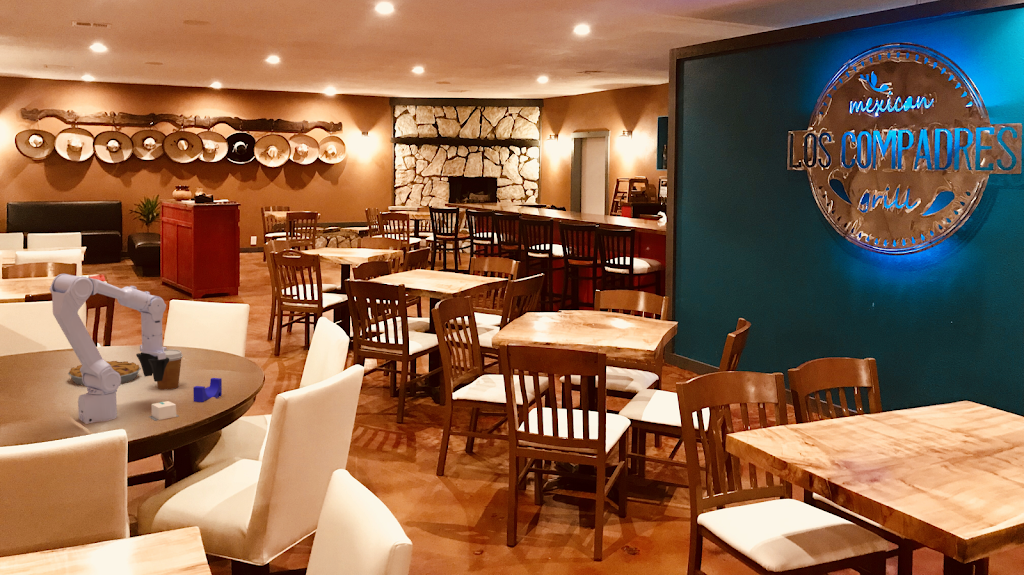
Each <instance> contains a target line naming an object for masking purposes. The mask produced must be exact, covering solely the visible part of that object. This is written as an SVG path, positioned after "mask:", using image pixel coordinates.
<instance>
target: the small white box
mask: <svg viewBox="0 0 1024 575" xmlns="http://www.w3.org/2000/svg"><path fill="white" fill-rule="evenodd" d="M176 414H177V404H176V403H174V402H172V401H169V400H167V401H159V402H155V403H151V416H153V417H154V418H156V419H158V420H157V421H162V420H166V419H167V418H168V419H173V418H177V417H176ZM172 417H173V418H172Z"/></svg>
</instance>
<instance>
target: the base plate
mask: <svg viewBox="0 0 1024 575" xmlns="http://www.w3.org/2000/svg"><path fill="white" fill-rule="evenodd" d="M178 417H179V415H178V414H177V413H176V417H175V418H178ZM148 418H150V419H151V420H154V422H155V421H156V422H157V421H159V420H158V419H156V418H154V417H153V416H152V415H151V416H150V415H149V416H148ZM173 418H174V417H172V418H171V419H173ZM167 419H169V418H167Z"/></svg>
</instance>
